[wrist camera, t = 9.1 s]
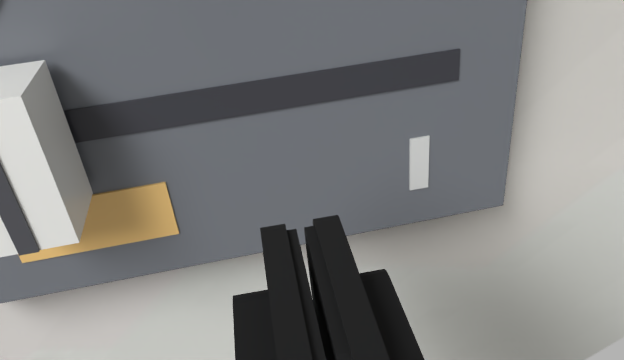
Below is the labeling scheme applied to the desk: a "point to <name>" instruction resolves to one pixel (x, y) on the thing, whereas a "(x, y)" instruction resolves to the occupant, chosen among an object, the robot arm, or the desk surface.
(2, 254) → the fader
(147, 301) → the desk surface
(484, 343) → the desk surface
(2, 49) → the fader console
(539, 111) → the desk surface
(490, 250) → the desk surface
